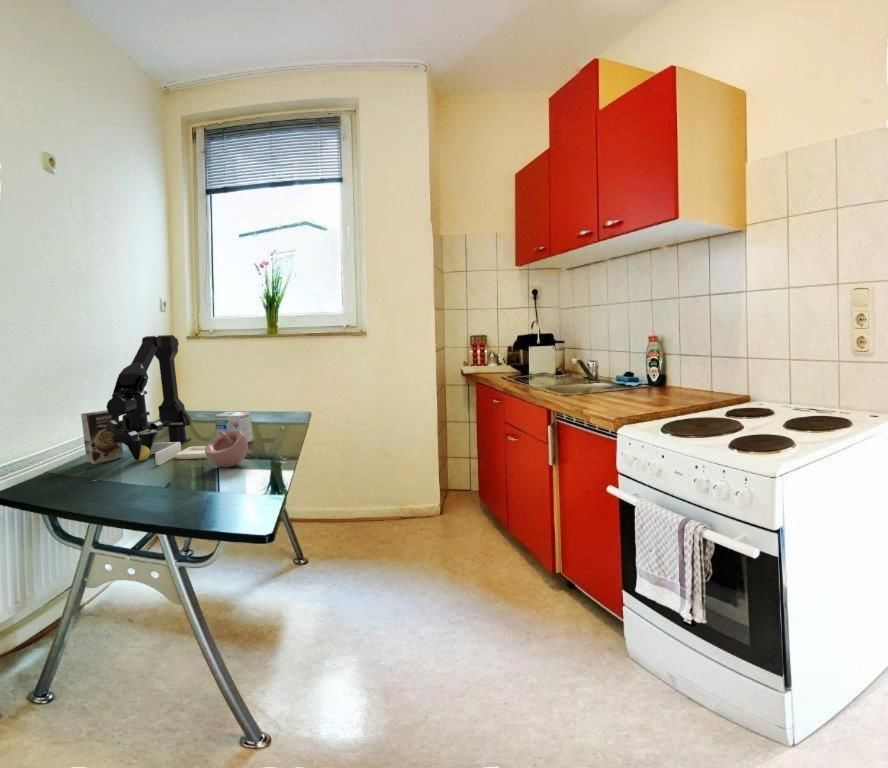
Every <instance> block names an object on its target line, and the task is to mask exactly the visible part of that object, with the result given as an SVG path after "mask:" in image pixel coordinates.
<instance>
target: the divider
mask: <svg viewBox="0 0 888 768" xmlns="http://www.w3.org/2000/svg"><path fill="white" fill-rule="evenodd" d="M181 451H182V443H180V442H168V441H166V442H153V444H152V447H151V449H150V454H155V455H154V456H155V465H159V466H161V465H163V464H164V463H166V462H169V461H171V460H173V459H174V458H175V454H177V453H179V452H181ZM172 458H173V459H172ZM170 459H171V460H170ZM168 460H169V461H168Z"/></svg>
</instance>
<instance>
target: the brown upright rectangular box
mask: <svg viewBox="0 0 888 768" xmlns="http://www.w3.org/2000/svg"><path fill="white" fill-rule="evenodd" d="M80 416H81V424H82V433H83V441H84V442H83V443H84V450H85V459H86V462H87V463H90V464H93V465H96V464H100V463H105V461H106V462H109V461H113V460H114V459H115V460H118V458H120V459H122V458H121V457H124V451H123V450H124V449H123V443H112V436H113V435H112V433H111V432H108V431H107V426H106V423H108V422H110V421H113V420H114V421H115V422H118V421H120V416H113V415H111V414H110V413H109V412H108V410H107V409H106V410H101V411H100V410H99V411H93V412H86V413H81V414H80Z"/></svg>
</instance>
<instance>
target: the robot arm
mask: <svg viewBox="0 0 888 768" xmlns="http://www.w3.org/2000/svg"><path fill="white" fill-rule="evenodd" d="M178 353H179V340H178V338H177V337H175V336H174V335H173V334H163V335H146V336H144V337H142V340H141V344H140V346H139V348H138V350H137V352H136V354H135V356H134V358H133V360H132V361H131V363H130V364H129V365H127V366H126V367H124V368H122V370H121V372H120V373H119V374H118V376H117V377H116V378H117V379H116V382H115V384H114V385H115V386H114V388H113V392H112V395H111V397H112V398H110V399H109V400H108V401H107V404H106V410H108V412H109V413H110V414H111V415H113V416H119V417H121V416H122V419H121V420H119V421H118V422H115V421H114V420H113V421H110V422H108V423H106V426H107V431H108V432H111V433H112V435H113V436H112V443H122V444H124V445H126V447H127V448H128V450H129V451H130V453H131V456H132V457H133V460H135V461H138V460H139V457H140V452H141V446H142V445H143V446H146V447H148V448H149V450H150V449H151V447H152V444H153V443H155V442H154V441H155V439H156V438H157V435H158V434H159V431H163V429H164V428H167V431H168V438H169V439H168V441H167V442H180V443H181V444H183V443H186V442H189V441H190V440H192V438H191V437H187V428H186V427H187V426H190V425H191V424H192V418H191V416H190V415H189V413H188V411H186V408H185V404H184V403H183V402H182V400H180V398H179V392H178V385H177V384H178V382H177V373H176V368H175V367H176V366H175V358H176V356H177V354H178ZM154 357H155V358H156V359H157V361H158V363H159V365H158V366H159V372H160V381H161V383H160V384H161V388H162V389H161V390H162V397H163V400H162V402H161V404H160V405H159V406H158V418H159V421H158V420H156V421H148V416H150V411H147V405H146V396H145V395H147V394H148V391H146V390H145V388H146V385H147V384H148V380H149V375H148V373H147V372H148V370H149V367H150V365H151V363H152V361H153V360H154ZM154 430H156V431H154Z"/></svg>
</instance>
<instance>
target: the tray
mask: <svg viewBox="0 0 888 768" xmlns="http://www.w3.org/2000/svg"><path fill="white" fill-rule="evenodd" d="M206 446H207V445H202V446H201V445H199V446H196V445H195V446H189V447H187V448H185V449H182V450H181V452H179V453H177V454H175V457H174V458H175V460H189V459H190V460H191V459H192V460H193V459H195V460H196V459H208V458H207V456H206V454H205V449H206Z"/></svg>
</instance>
